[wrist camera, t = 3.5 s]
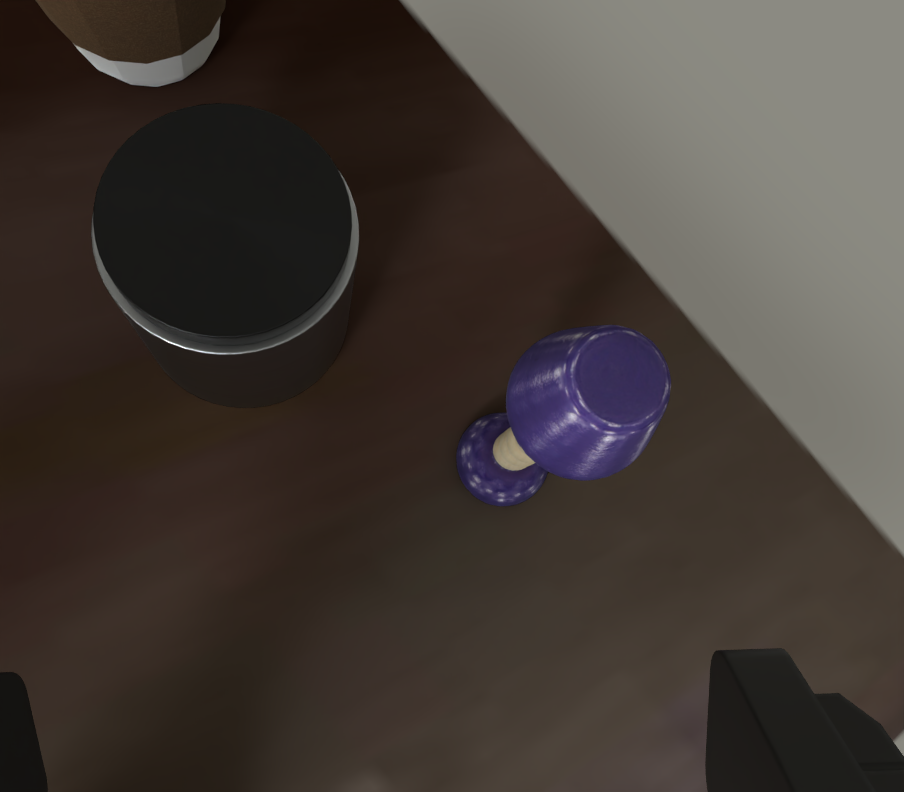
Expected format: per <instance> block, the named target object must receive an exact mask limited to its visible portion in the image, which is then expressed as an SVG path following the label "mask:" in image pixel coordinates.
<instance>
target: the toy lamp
mask: <svg viewBox="0 0 904 792" xmlns="http://www.w3.org/2000/svg"><path fill="white" fill-rule="evenodd" d="M670 388H671V378H670V373H669V369H668V365H667V363H666V361H665V359H664V357H663V355H662V353H661V352H660V350H659V349H658V348H657V347H656V345H655V344H654V343H653V342H652V341H651V340H650V339H648V338H647V337H645V336H644V335H643V334H641V333H640V332H638V331H636V330H634V329H630V328H626V327H623V326H617V325H601V326H589V327H579V328H572V329H566V330H562V331H559V332H556V333H553V334H551V335H548V336H546V337H544V338H542V339H541V340H539V341H538V342H536V343H535V344H533V345H532V346H531V347H530V348H529V349H528V350H527V351H526V352H525V353H524V354H523V355H522V356H521V358H520V359H519V360H518V362H517V363H516V365H515V367H514V369H513V371H512V373H511V376H510V379H509V382H508V387H507V394H506V409H507V413H492V414H488V415H485V416H483V417H481V418H479V419H477V420H476V421H475V422H473V423H472V424H471V425H470V426H469V427H468V428H467V430H466V431H465V432H464V433H463V435H462V437H461V439H460V441H459V444H458V448H457V454H456V459H457V470H458V473H459V476H460V478H461V480H462V482H463V484H464V485H465V487H466V488H467V489H468V490H469V491H470V492H471V493H472V495H474V496H475V497H476V498H478V499H479V500H482V501H483V502H485V503H488V504H490V505H496V506H511V505H516V504H519V503H521V502H524V501H526V500H527V499H529V498H530V497H532V496H533V495H534V494H535V493H536V492H537V491H538V490H539V489H540V487H541V486H542V484H543V483H544V481H545V478H546V476H547V473H548V472H550V473H552V474H555V475H557V476H560V477H563V478H567V479H574V480H595V479H600V478H603V477H607V476H610V475H612V474H615V473H617V472H619V471H621V470H622V469H624V468H625V467H627V466H628V465H630V464H631V463H632V462H633V461H634V460H635V459H637V458H638V456H639V455H640V454H641V453H642V451H643V450H644V449H645V447H646V446H647V444H648V443H649V441H650V439H651V437H652V436H653V434H654V432H655V430H656V428H657V426H658V424H659V422H660V420H661V418H662V416H663V414H664V412H665V410H666V407H667V404H668V402H669V397H670Z"/></svg>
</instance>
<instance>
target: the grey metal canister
mask: <svg viewBox="0 0 904 792" xmlns="http://www.w3.org/2000/svg"><path fill="white" fill-rule="evenodd" d="M91 239H92V248H93V254H94V258H95V262H96V266H97V269H98V271H99V274H100V276H101V278H102V281H103V283H104V285H105V287H106V288H107V290H108V292H109V293H110V295H111V296H112V298H113V300H114V301H115V302H116V304H117V305H118V307H119V308H120V310H121V311H122V312H123V314H124V315H125V317H126V318H127V320H128V321H129V322H130V324H131V325H132V327H133V328H134V330H135V331H136V332H137V334H138V335H139V337H140V338H141V340H142V341H143V342H144V344H145V345H146V347H147V348H148V350H149V351H150V352H151V354H152V355H153V357H154V358H155V360H156V361H157V362H158V364H159V365H160V366H161V368H162V369H163V370H164V371H165V372H166V374H167V375H168V376H169V377H170V378H171V379H172V380H174V381H175V382H176V383H177V384H178V385H179V386H181V387H182V388H184V389H185V390H186V391H188V392H189V393H191V394H193V395H195V396H197V397H199V398H201V399H204V400H206V401H209V402H212V403H215V404H219V405H223V406H228V407H238V408H255V407H262V406H269V405H272V404H276V403H279V402H283V401H285V400H287V399H290V398H292V397H294V396H296V395H298V394H300V393H301V392H303V391H305V390H306V389H308V388H309V387H310V386H311V385H313V384H314V383H315V382H317V381H318V380H319V379H320V378H321V377H322V376H323V375H324V374H325V373H326V371H327V370H328V369H329V367H330V366H331V365H332V363H333V362H334V360H335V359H336V357H337V355H338V353H339V352H340V349H341V347H342V344H343V342H344V339H345V335H346V331H347V327H348V319H349V312H350V305H351V298H352V291H353V284H354V277H355V270H356V263H357V256H358V246H359V222H358V216H357V211H356V206H355V203H354V200H353V197H352V194H351V192H350V190H349V188H348V185H347V183H346V181H345V179H344V178H343V176H342V175H341V173H340V172H339V170H338V168H337V167H336V165H335V164H334V162H333V161H332V159H331V158H330V156H329V155H328V154H327V153H326V151H325V150H324V149H323V148H322V147H321V146H320V144H319V143H317V142H316V141H315V140H314V139H313V138H312V137H311V136H310V135H309V134H308V133H306V132H305V131H303V130H302V129H300V128H299V127H298V126H296V125H295V124H293V123H291V122H289V121H288V120H286V119H284V118H282V117H280V116H278V115H275V114H273V113H270V112H268V111H265V110H261V109H258V108H254V107H250V106H244V105H237V104H221V103H216V104H203V105H197V106H192V107H187V108H183V109H180V110H177V111H174V112H171V113H168V114H166V115H164V116H162V117H160V118H157V119H155V120H153V121H152V122H150V123H149V124H147V125H146V126H144V127H142V128H141V129H140V130H138V131H137V132H136V133H135V134H134V135H132V136H131V137H130V138H129V139H128V140H127V141H126V142H125V143H124V144H123V145H122V146H121V147H120V148H119V149H118V151H117V152H116V153H115V155H114V156H113V158H112V159H111V161H110V162H109V164H108V166H107V168H106V169H105V171H104V173H103V175H102V177H101V180H100V183H99V186H98V189H97V192H96V197H95V203H94V209H93V216H92V226H91Z"/></svg>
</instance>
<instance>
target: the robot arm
mask: <svg viewBox="0 0 904 792" xmlns="http://www.w3.org/2000/svg"><path fill="white" fill-rule="evenodd" d="M705 766H706V782H707V790H708V792H904V756H903V755H902V753H901V752H900V751H899V749H898V748H897V746H896V745H895V744H894V742H893V741H892V739H891V738H890V737H889V735H888V734H887V732H886V731H885V730H884V728H883V727H882V726H881V724H880V723H878V722H877V721H876V720H874V719H873V718H872V717H870V716H869V715H868V714H866V713H865V712H863V711H862V710H861V709H859V708H858V707H857V706H855V705H854V704H853V703H851V702H850V701H849V700H847V699H846V698H845V697H843V696H842V695H841V694H839V693H832V694H814V693H813V691H812V690H811V688H810V687H809V685H808V683H807V682H806V680H805V679H804V677H803V676H802V674H801V672H800V671H799V669H798V668H797V666H796V665H795V663H794V661H793V660H792V658H791V657H790V655H789V654H788V653H787V652H786V651H785V650H784V649H782V648H777V649H747V650H718V651H715V652H714V654H713V656H712V660H711V667H710V684H709V703H708V722H707V742H706V765H705ZM0 792H48V787H47V778H46V773H45V769H44V765H43V760H42V756H41V751H40V747H39V742H38V738H37V734H36V729H35V725H34V720H33V716H32V711H31V707H30V703H29V698H28V694H27V690H26V686H25V684H24V682H23V680H22V679H21V677H20V676H19V675H18V674H16V673H13V672H0Z"/></svg>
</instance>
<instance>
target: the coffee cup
mask: <svg viewBox="0 0 904 792" xmlns="http://www.w3.org/2000/svg"><path fill="white" fill-rule="evenodd" d="M36 2H37V3H38V4H39V6H40V7H41V8H42V10H43V11H44V12H45V13H46V15H47V16H48V17H49V19H50V20H51V21H52V22H53V23H54V24H55V25H56V26H57V27H58V28H59V29H60V30H61V31H62V32H63V33H64V34H65V35H66V36H67V37H68V38H69V39H70V40H71V41H72V42H73V44H74V45H75V46H76V48H77V49H78V50H79V51H80V52H81V53H82V54H83V55H84V56H85V57H86V58H87V59H88V60H89V61H90V62H91V63H92V64H93V65H94V66H95V67H96V68H97V69H98V70H100V71H102V72H104V73H106V74H108V75H111V76H113V77H115V78H117V79H119V80H122V81H124V82H126V83H128V84H131V85H140V86H152V87H159V86H163V85H166V84H170V83H174V82H178V81H181V80H183V79H185V78H186V77H187V76H189V75H190V74H191V73H193V72H194V71H195V70H197V69H198V68H200V67H201V66H202V65H203V64H204V62H205V61H206V60H207V58H208V56H209V54H210V53H211V51H212V49H213V47H214V46H215V44H216V42H217V40H218V39H219V28H220V16H221V14H222V13H223V11H224V9H225V5H226V0H36Z"/></svg>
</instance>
